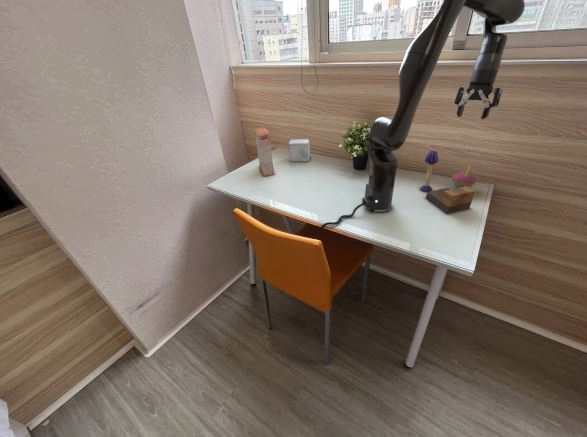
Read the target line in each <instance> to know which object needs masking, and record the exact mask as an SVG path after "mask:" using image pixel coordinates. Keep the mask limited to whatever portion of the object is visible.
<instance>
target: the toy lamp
mask: <svg viewBox="0 0 587 437" xmlns="http://www.w3.org/2000/svg"><path fill="white" fill-rule="evenodd" d="M424 162H425V163H426V164H428V165H427V171H426V176H425V181H424V185H422V186H421V187H420V191H422V192H424V193H427V192H429V191H433V188H432V186H431V184H430V183H431V179H432V174H433V173H432V172H433V168H434V165H435V164H437V163H438V162H439V155H438V151H437V150H429V151H428V153H427V155H426V157H425V159H424Z"/></svg>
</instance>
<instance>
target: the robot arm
mask: <svg viewBox="0 0 587 437" xmlns="http://www.w3.org/2000/svg"><path fill="white" fill-rule="evenodd" d="M463 8H467V9H468V10H470V11H472V12H474V13H475V14H477V15H479V16H480V17H482V18H483V28H482V30H483V31H482V42H481V45H480V49H479V52H478V54H477V55H478V56H477V58H476V59H475V64H474V65H473V66H474V67H473V70H472V74H471V77H470V80H469V85H468V87H465V88H464V86H460V87H459V88H458V91H457V92H456V96H455V99H454V104H455V105H457V106H458V107H457V111H456V117H458V118H461V117H462V116H463V113H464V110H465V106H466V105H467V104H468V103H469V102H470V101H481V102H482V103H483V105H484V108H483V111H482V113H481V117H480V120H486V119H487V118H488V117H489V115H490V111H491V109H492V108H495V107H498V106H499V104H500V101H501V96H502V93H503V88H502V87H496V88H495V87H494V85H495V81H496V79H497V75H498V72H499V70H500V67H501V63H502V59H503V54H504V52H505V48H506V45H507V42H508V34H506V33H504V32H497V26H498V27H499V26H505V25H506V26H507V25H510V24H514V23H515V22H517V21H518V20H519V19H520V18H521V17H522V15H523V14H524V12H525V8H526V2H525V0H442V2H441V4H440V6H439V7H438V10H437V11H436V13H435V15H434V16H433V17H432V19H431V20H430V21H429V22H428V24H427V25H426V26H425V27H424V28H423V29H422V30H421V31H420V32H419V33H418V35H417V36H416V37H415V38H414V40H413V41H412V42H411V43H410V45H409V46H408V48H407V50H406V52H405V55H404V58H403V61H402V62H401V65H400V68H399V71H398V95H399V96H398V104H397V106H396V110H395V112H394V116H393V118H390V117H388V116H381V117H378V118H377V119H375V120H374V121H373V122H372V123H371V124H372V125H371V126H370V129H369V133H368V153H367V154H368V159H369V171H368V182H367V183H365V191H364V192H365V193H364V197H362V198H361V203H360V204H358V205H357V206H356V207H354V209H353V211H352V213H351V214H344V215H340V216H339V218H338V220H337V221H330V222H325V223H323V224H322V225H321V226H320V229H324V227H326V226H329V225H330V226H334V225H338V224H340V222H341V221H342V219H343V218H351V217H353V216H355V213H356V211H357V210H358V209H360V208H361V207H363V206H364V207H365V208H366V209H367V210H368V211H369V212H370V213H380V214H381V213H387V212H389V211H390V210H391V209H392V203H393V196H394V188H395V182H396V175H397V170H398V163H399V159H398V157H397V155H396V154H395V153H394V151H398V150H399V149H400V148H401V147H403V145H404V144H405V142H406V140H407V138H408V136H409V132H410V130H411V127H412V125H413V121H414V119H415V116H416V113H417V110H418V107H419V105H420V102H421V99H422V98H423V95H424V93H425V90H426V88H427V85H428V83H429V81H430V79H431V77H432V75H433V73H434V71H435V68H436V66H437V65H438V61H439V58H440V57H441V54H442V51H443V49H444V47H445V44H446V43H447V41H448V38H449V35H450V33H451V32H452V29H453V27H454V25H455V23H456V21H457V19H458V18H459V16H460V13H461V12H462V11H463ZM464 94H467V95H465V96H464ZM491 94H492V95H493V99H492V102H491V98H490V95H491Z"/></svg>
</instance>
